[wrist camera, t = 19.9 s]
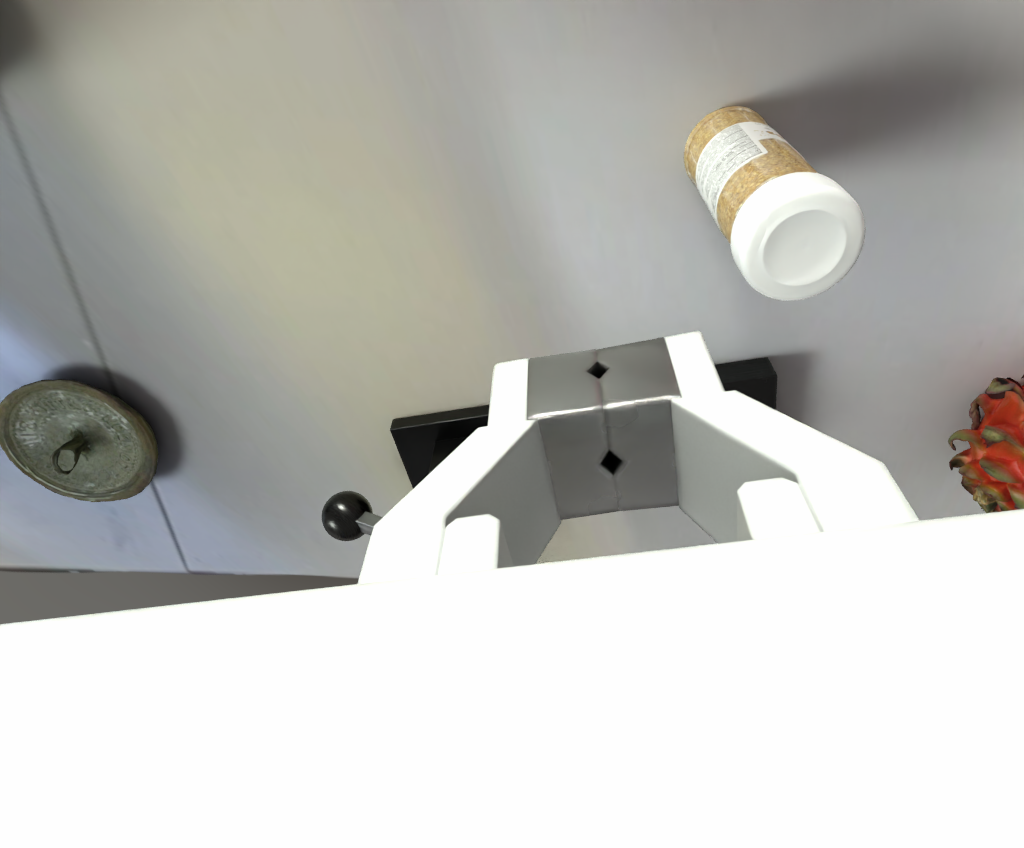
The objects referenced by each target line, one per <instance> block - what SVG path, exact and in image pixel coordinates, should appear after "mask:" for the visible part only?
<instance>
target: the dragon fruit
mask: <svg viewBox="0 0 1024 848" xmlns="http://www.w3.org/2000/svg"><path fill="white" fill-rule="evenodd" d="M1022 378H1024V375H1023V377H1022ZM1005 391H1006V392H1005ZM1002 392H1005V397H1004V398H1002V399H992V398H990V397H989V396H988V395H987V394H992V393H996V394H998V393H1002ZM986 393H987V394H980V395H979V396H978V397H977V398H976V399H975V400H974V401H973V402H972V403H971V409H970V411H969V416H970V418H972V422H973V424H972V427H971V430H969V429H963V430H959V431H957V432H955V433H954V434H953V435H952V436H950V438H949V440H948V443H949V445H950V446H951V448H952V449H953V450H955V451H956V448H955V446H954V444H953V440H961V441H968V442H969V444H970V447H971V448H970V449H968V450H965V451H963V452H961V453H959V454H957V455H956V456H954V457H953V458H952V459H951V461H950V462H949V464H950V468H951V470H953V467H956V468H958V467H961V468H960V469H959V473H960V474H961V475H963V476H962V482H961V484H962V486H963V487H964V488H965V489H966V490H967V491H968V492H969V493H970V494H972V495H973V500H975V501H977V502H978V503H979V505H980V506H981V507H982V508H981V509H984V510H985V512H986V513H993V512H1002V511H1011V510H1020V509H1024V385H1023V386H1021V385H1020V384H1019V383H1018V382H1017V381H1015V380H1013V379H1011V378H1007V379H1004V378H994V379H993V380H992V382H991V384H990V386H989V387H988V389H987V390H986ZM979 406H980V407H981V408H982V409H983V411H984V413H985V416H984V418H983V420H982V422H980V420H981V416H980V412H979ZM984 510H983V511H984Z"/></svg>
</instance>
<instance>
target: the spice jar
mask: <svg viewBox="0 0 1024 848" xmlns="http://www.w3.org/2000/svg"><path fill="white" fill-rule="evenodd" d="M684 163H685V168H686V172H687V174H688V176H689V178H690V179H691V181H692V182H693V183H694V184H695V185H696V186H697V187H698V191H699V193H700V195H701V197H702V198H703V200H704V202H705V204H706V206H707V207H708V209H709V211H710V213H711V215H712V216H713V218H714V220H715V222H716V224H717V225H718V227H719V229H720V231H721V232H722V234H723V235H724V236H725V238H726V239H727V240H728V241H729V243H730V244H731V251H732V255H733V258H734V261H735V263H736V265H737V266H738V268H739V270H740V271H741V273H742V275H743V276H744V278H745V279H746V280H747V282H748V283H749V284H750V285H751V286H752V287H753V288H754V289H755V290H756V291H758V292H759V293H761V294H763V295H764V296H767V297H769V298H773V299H777V300H784V301H793V300H802V299H806V298H809V297H812V296H815V295H818V294H820V293H822V292H824V291H826V290H827V289H829V288H831V287H832V286H834V285H835V284H836V283H838V282H839V281H840V280H841V279H842V278H843V277H844V276H845V275H846V274H847V273H848V272H849V271H850V269H851V268H852V267H853V265H854V264H855V262H856V261H857V259H858V257H859V255H860V252H861V250H862V247H863V243H864V239H865V222H864V217H863V213H862V211H861V209H860V207H859V205H858V204H857V202H856V201H855V200H854V199H853V198H852V196H851V195H850V194H849V193H848V192H847V191H845V190H844V189H843V188H842V187H841V186H840V185H839V184H837V183H836V182H835V181H834V180H832V179H830V178H828V177H827V176H824V175H821V174H818V173H817V172H816V171H815V170H814V169H813V168H812V167H811V166H810V165H809V164H808V162H807V161H806V160H805V159H804V158H803V156H802V155H801V154H800V153H799V152H798V151H797V150H795V149H794V148H793V147H792V146H791V145H790V144H789V143H788V142H787V141H786V140H785V139H784V138H783V137H782V136H780V135H779V134H778V133H777V132H776V131H775V130H774V129H772V128H771V127H769V126H768V124H767V123H766V122H765V120H764V119H763V118H762V117H761V116H760V115H759V114H758V113H756V112H755V111H753V110H751V109H749V108H746V107H740V106H731V107H725V108H722V109H719V110H716V111H714V112H712V113H710V114H708V115H706V116H705V117H704V118H703V119H702V120H701V121H700V122H699V123H698V124H697V125H696V127H695V128H694V129H693V131H692V132H691V134H690V136H689V138H688V140H687V143H686V146H685V152H684Z"/></svg>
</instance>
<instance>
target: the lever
mask: <svg viewBox="0 0 1024 848" xmlns="http://www.w3.org/2000/svg"><path fill="white" fill-rule="evenodd" d="M382 518H383V517H380V516H377V515H374V514H373V513H372V508H371V505H370V503H369V502H368V500H367V499H366V498H365V497H364V496H362V495H361V494H359V493H356V492H352V491H343V492H340V493H337V494H335V495H333V496H332V497H331V498H330V499H329V500H328V501H327V502H326V504H325V506H324V508H323V511H322V523H323V526H324V528H325V530H326V531H327V532H328V534H329V535H331V536H332V537H334V538H335V539H338V540H341V541H351V540H355V539H357V538H359V537H361V536H362V535H364V534H368V535H371V534H372V531H373V527H374V525H375V524H377V523H378V522H379V521H380V520H381V519H382Z"/></svg>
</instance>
